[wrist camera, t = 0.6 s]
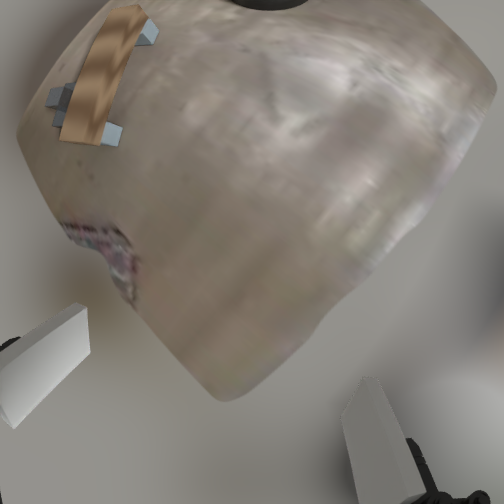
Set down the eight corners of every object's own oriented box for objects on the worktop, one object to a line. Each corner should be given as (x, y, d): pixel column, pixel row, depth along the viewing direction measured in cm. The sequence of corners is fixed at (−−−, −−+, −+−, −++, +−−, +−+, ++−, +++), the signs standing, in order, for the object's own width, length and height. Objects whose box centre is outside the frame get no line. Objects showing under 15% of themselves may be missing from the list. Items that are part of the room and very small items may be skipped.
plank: (123, 20, 26) (111, 9, 22) (148, 17, 26) (138, 4, 22) (75, 143, 31) (58, 140, 27) (99, 145, 31) (82, 142, 27)
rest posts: (129, 33, 30) (119, 22, 26) (159, 30, 30) (150, 19, 26) (89, 143, 35) (74, 140, 31) (117, 146, 34) (103, 142, 31)
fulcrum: (72, 86, 33) (48, 76, 26) (103, 83, 32) (79, 70, 26) (59, 127, 34) (32, 121, 27) (89, 128, 34) (62, 120, 27)
